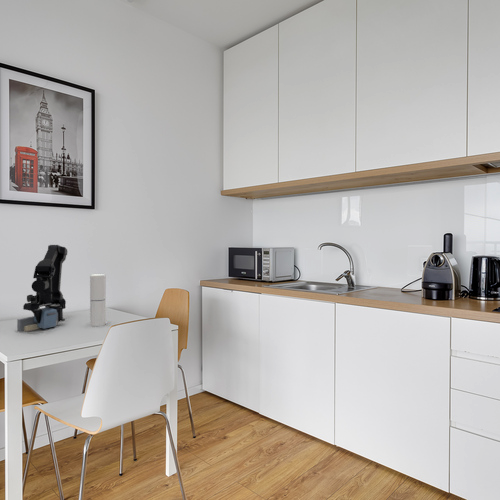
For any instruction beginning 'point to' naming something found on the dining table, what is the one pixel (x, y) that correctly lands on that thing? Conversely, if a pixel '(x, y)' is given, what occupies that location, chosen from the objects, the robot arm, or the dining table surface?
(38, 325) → the blue block
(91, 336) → the dining table surface
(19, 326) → the wall board
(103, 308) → the cylindrical container
